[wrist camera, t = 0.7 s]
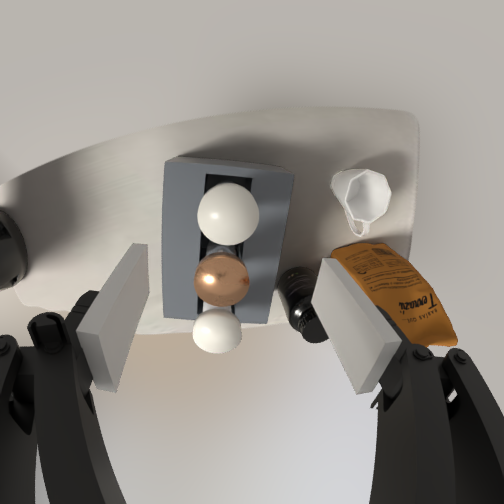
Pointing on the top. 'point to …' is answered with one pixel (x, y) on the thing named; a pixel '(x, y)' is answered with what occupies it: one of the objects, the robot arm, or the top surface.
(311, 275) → the supplement bottle
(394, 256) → the coffee package
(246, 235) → the knob
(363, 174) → the cup
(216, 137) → the top surface
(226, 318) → the knob
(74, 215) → the top surface
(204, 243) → the grey pod holder
